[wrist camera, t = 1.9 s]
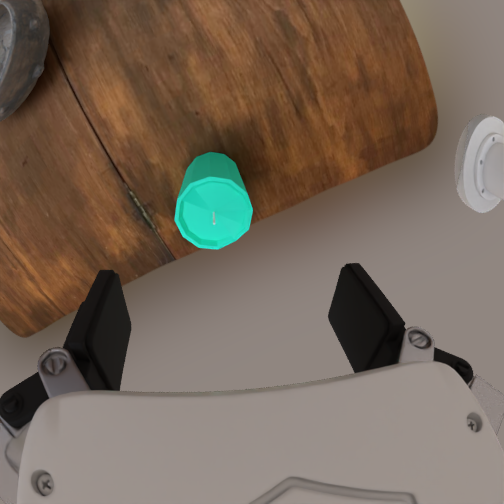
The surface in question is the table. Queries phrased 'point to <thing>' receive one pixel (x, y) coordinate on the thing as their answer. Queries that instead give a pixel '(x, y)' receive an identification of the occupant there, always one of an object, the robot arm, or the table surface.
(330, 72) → the table surface
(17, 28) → the bowl
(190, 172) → the candle
